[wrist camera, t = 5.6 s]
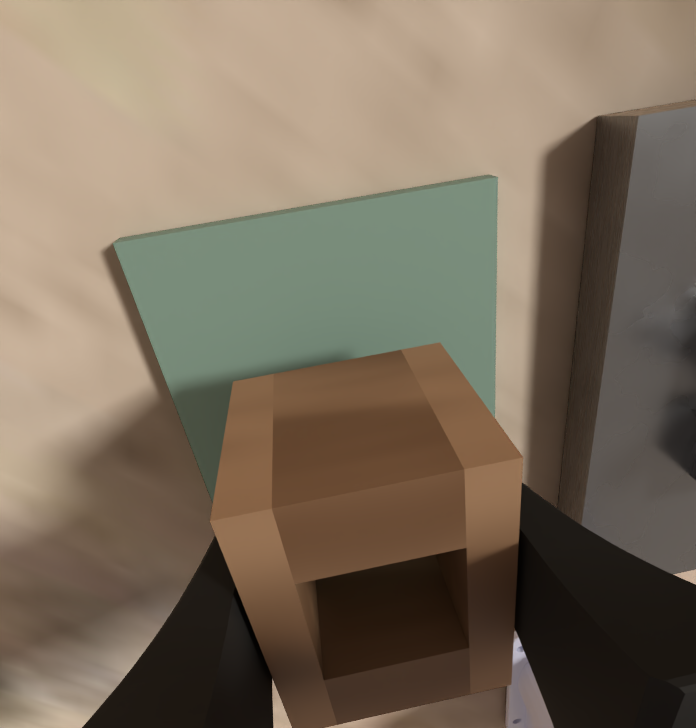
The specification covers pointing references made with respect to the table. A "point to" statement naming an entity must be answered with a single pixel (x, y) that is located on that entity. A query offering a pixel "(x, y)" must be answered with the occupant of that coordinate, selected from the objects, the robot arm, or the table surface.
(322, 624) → the sleeve block
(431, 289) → the mat
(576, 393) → the vise
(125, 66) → the table surface
